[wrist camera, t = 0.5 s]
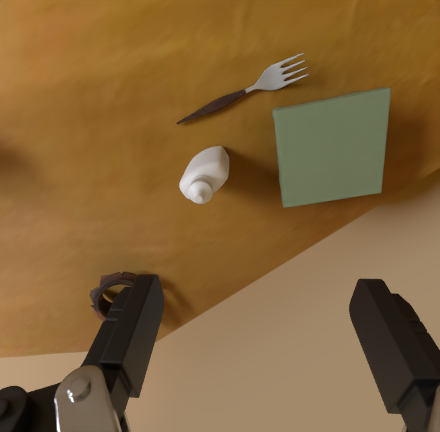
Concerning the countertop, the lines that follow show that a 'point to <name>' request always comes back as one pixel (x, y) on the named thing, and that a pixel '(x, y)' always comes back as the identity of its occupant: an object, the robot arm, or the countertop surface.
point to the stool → (332, 147)
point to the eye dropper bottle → (205, 174)
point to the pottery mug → (99, 301)
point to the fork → (253, 87)
